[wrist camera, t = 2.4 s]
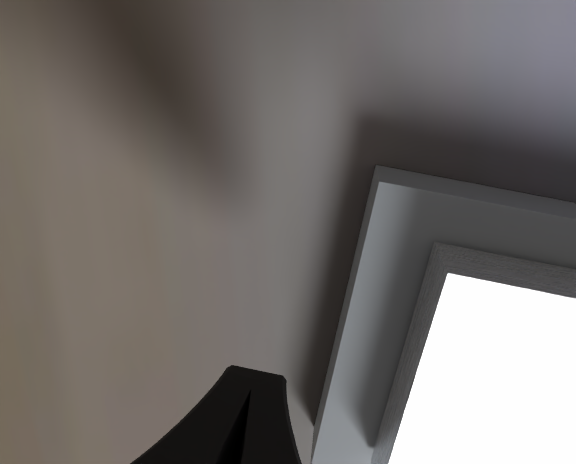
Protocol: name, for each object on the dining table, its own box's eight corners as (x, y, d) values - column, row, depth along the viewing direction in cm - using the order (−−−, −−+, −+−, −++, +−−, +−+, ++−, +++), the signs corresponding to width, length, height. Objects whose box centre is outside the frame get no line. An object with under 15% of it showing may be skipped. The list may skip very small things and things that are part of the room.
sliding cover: (724, 298, 13) (785, 340, 11) (610, 510, 16) (645, 572, 14) (434, 241, 14) (447, 273, 12) (370, 458, 16) (373, 512, 14)
